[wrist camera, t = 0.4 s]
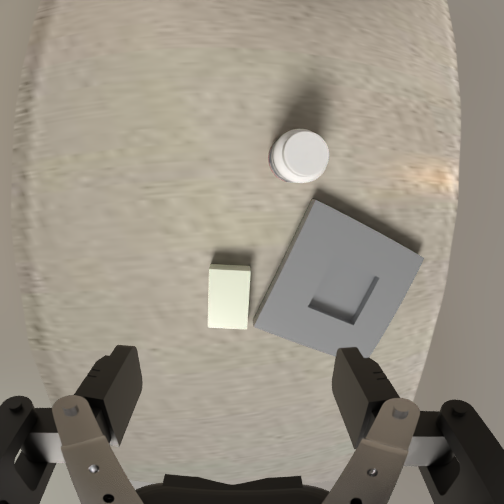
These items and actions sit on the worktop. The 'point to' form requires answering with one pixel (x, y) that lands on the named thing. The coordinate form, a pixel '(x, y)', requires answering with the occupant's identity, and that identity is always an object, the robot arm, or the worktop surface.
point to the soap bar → (228, 296)
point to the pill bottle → (299, 156)
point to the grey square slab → (337, 284)
